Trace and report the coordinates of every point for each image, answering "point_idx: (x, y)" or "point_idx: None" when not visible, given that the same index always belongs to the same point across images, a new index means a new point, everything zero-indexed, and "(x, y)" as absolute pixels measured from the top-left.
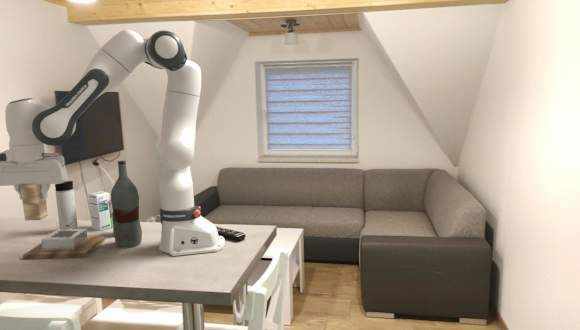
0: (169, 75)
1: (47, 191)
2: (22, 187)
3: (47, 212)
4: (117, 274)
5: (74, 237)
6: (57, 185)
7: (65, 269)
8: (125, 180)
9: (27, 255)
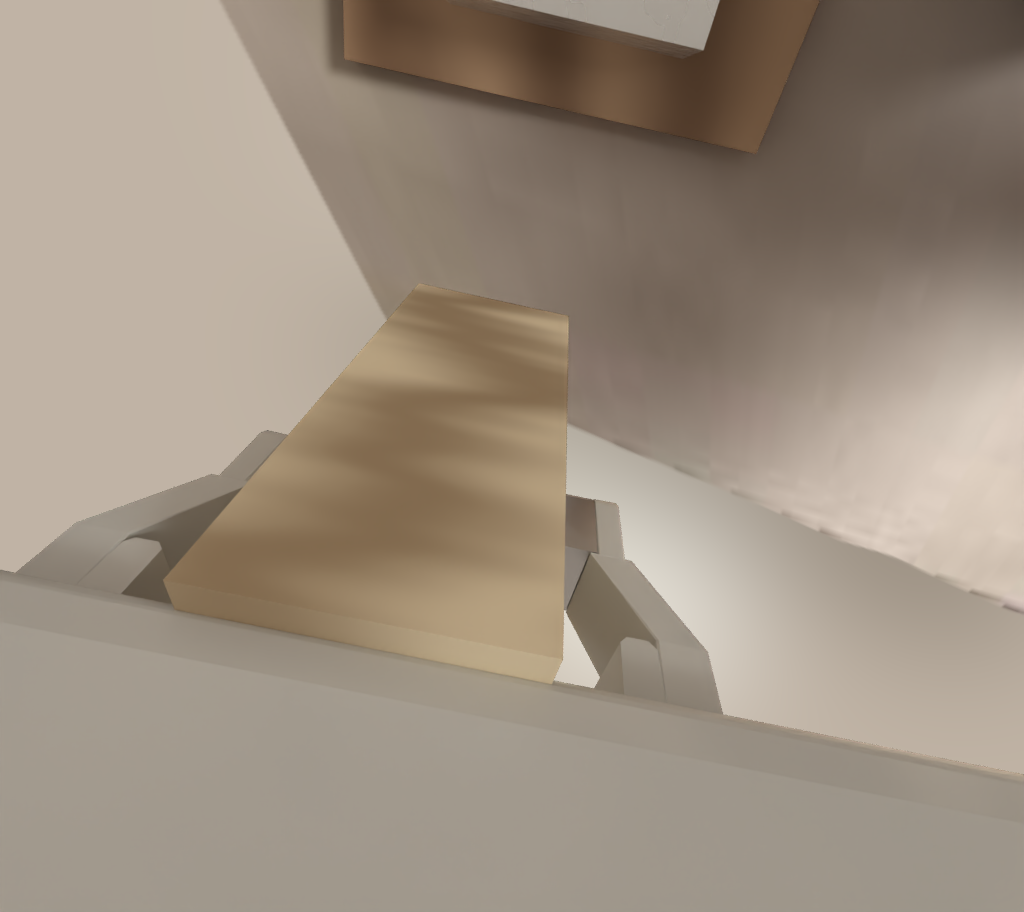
0: None
1: (632, 578)
2: None
3: (567, 331)
4: (859, 449)
5: (713, 8)
6: None
7: (641, 327)
8: None
9: (374, 65)
